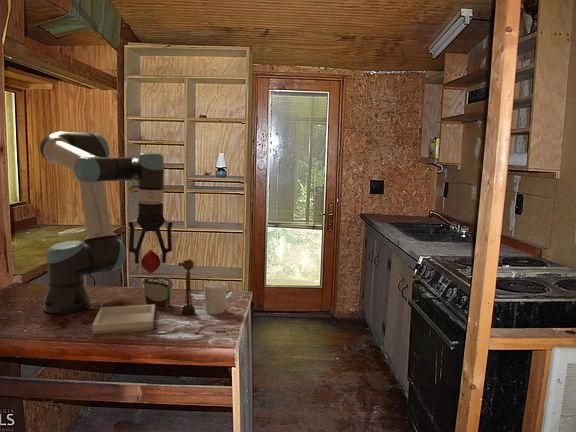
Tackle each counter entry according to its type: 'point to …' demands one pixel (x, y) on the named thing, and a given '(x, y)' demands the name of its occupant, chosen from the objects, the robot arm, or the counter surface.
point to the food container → (158, 291)
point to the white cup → (215, 297)
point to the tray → (124, 319)
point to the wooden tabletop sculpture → (188, 309)
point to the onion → (150, 261)
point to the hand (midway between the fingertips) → (150, 272)
